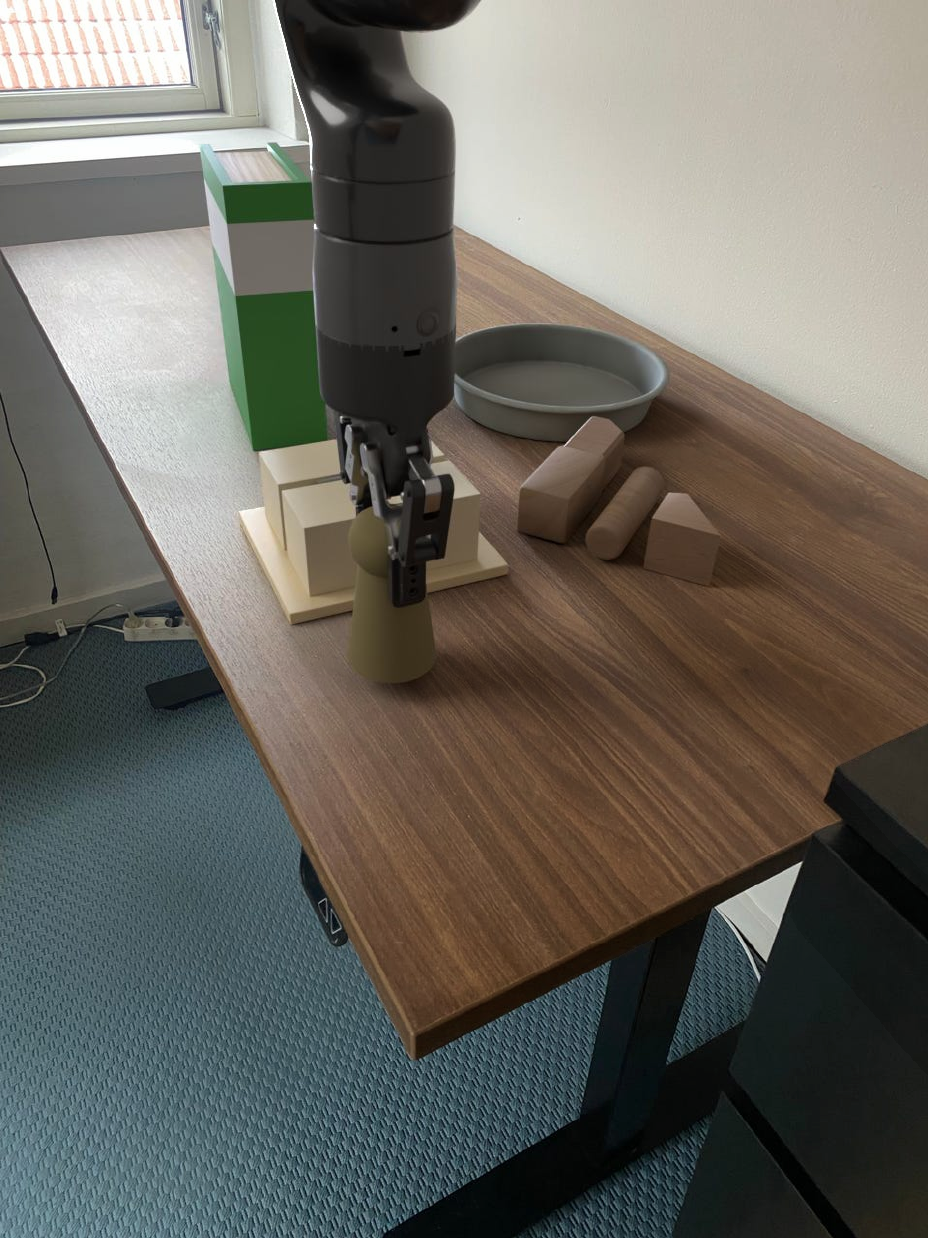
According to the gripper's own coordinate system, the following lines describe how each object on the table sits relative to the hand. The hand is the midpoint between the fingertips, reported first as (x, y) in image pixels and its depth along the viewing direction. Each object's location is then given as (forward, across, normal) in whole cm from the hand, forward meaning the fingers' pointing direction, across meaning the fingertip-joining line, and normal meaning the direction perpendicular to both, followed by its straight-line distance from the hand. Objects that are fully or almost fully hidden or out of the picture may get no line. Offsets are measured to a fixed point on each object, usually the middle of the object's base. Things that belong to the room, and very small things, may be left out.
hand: (390, 576), depth 59 cm
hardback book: (+8, -45, +4) cm, 46 cm away
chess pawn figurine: (+7, 0, 0) cm, 7 cm away
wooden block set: (+8, -12, +28) cm, 32 cm away
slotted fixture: (+8, -16, +4) cm, 18 cm away
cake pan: (+8, -37, +33) cm, 50 cm away
